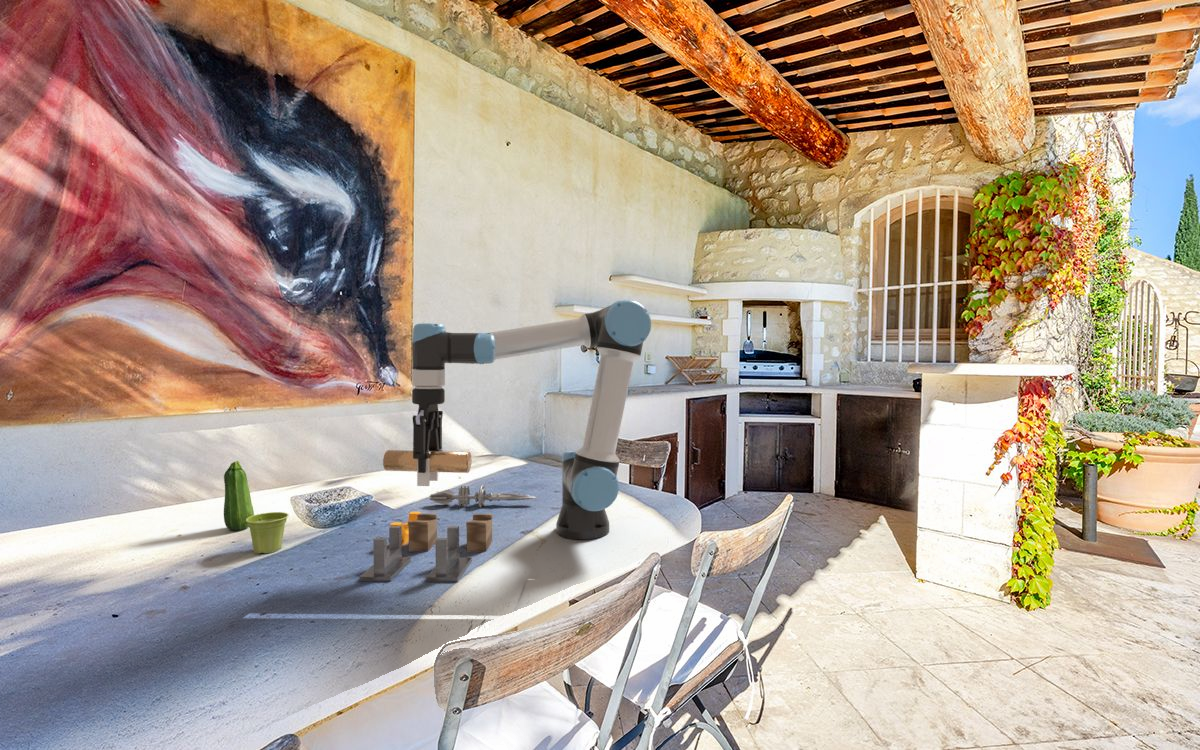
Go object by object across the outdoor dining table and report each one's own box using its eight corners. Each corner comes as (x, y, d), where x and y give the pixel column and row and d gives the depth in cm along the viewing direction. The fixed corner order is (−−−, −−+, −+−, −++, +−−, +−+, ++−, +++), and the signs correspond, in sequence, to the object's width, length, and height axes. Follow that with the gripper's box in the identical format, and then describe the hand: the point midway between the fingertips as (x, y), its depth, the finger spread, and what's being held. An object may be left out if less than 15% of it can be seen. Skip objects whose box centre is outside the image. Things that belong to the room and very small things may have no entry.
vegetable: (241, 534, 151) (240, 463, 150) (217, 533, 151) (215, 463, 151) (259, 526, 158) (258, 459, 157) (236, 525, 158) (235, 458, 158)
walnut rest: (492, 542, 144) (492, 513, 144) (485, 552, 136) (485, 522, 136) (419, 541, 144) (418, 513, 144) (408, 551, 137) (408, 522, 136)
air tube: (471, 470, 132) (471, 450, 131) (465, 475, 126) (465, 453, 126) (392, 468, 133) (392, 448, 132) (382, 472, 128) (383, 451, 127)
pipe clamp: (406, 533, 151) (406, 511, 151) (421, 534, 151) (420, 511, 151) (383, 548, 140) (383, 524, 139) (399, 549, 139) (399, 524, 139)
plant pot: (278, 541, 145) (278, 509, 144) (295, 548, 139) (295, 515, 139) (240, 551, 137) (239, 518, 137) (256, 559, 132) (255, 524, 131)
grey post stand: (471, 561, 130) (471, 524, 130) (457, 581, 118) (457, 541, 118) (382, 560, 130) (382, 524, 130) (359, 581, 118) (358, 541, 118)
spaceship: (534, 512, 172) (534, 488, 172) (426, 512, 172) (425, 488, 172) (537, 505, 180) (537, 482, 180) (433, 505, 180) (433, 482, 180)
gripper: (427, 385, 138) (426, 474, 139) (397, 389, 120) (396, 491, 121) (455, 386, 138) (455, 475, 138) (429, 389, 120) (429, 492, 120)
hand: (427, 482), depth 130 cm, fingers closed on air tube, 5 cm apart
